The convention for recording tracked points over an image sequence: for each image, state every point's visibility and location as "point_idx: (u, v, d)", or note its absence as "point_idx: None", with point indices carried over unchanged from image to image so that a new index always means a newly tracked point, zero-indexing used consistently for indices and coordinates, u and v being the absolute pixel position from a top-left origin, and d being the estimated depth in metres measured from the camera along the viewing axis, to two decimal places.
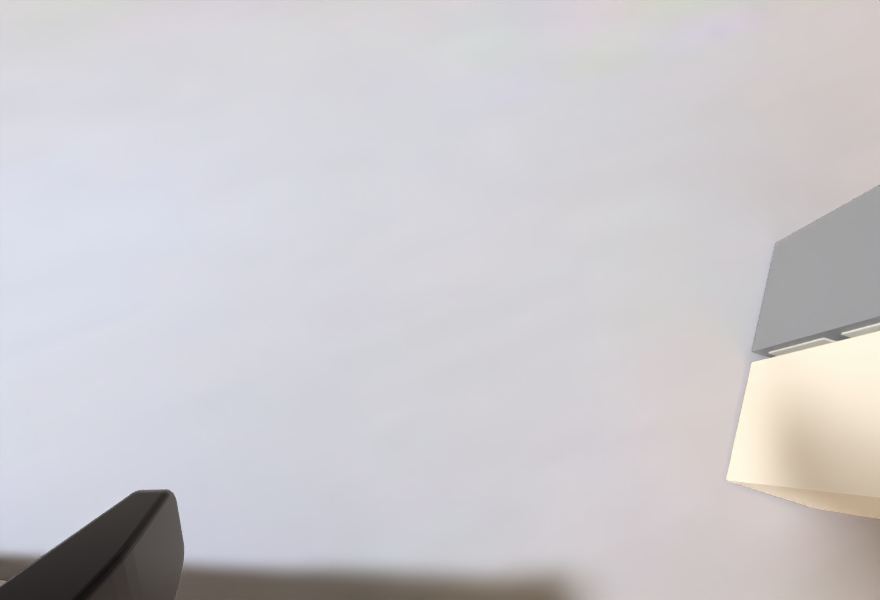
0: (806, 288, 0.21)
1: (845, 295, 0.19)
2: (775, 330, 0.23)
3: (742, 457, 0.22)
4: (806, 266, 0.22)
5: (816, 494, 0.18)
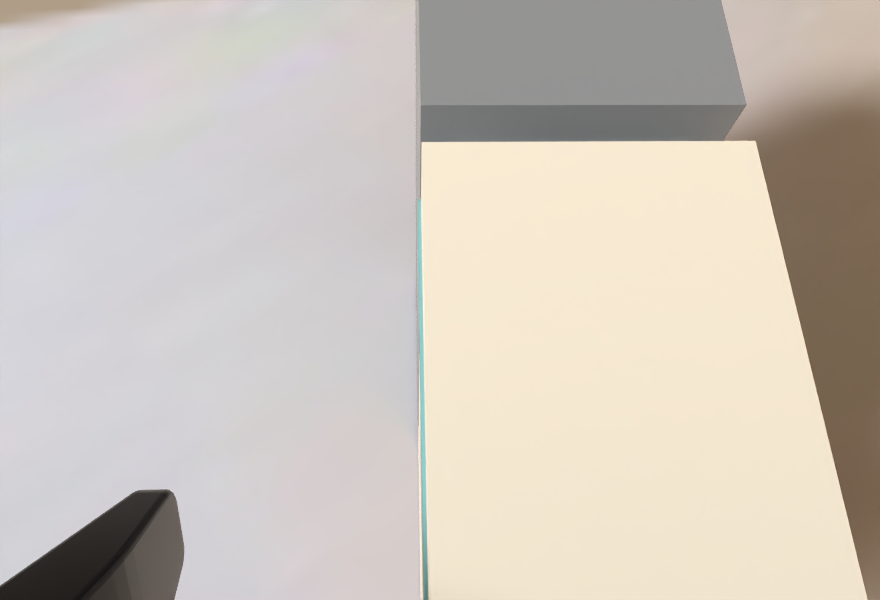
0: None
1: None
2: None
3: None
4: None
5: None
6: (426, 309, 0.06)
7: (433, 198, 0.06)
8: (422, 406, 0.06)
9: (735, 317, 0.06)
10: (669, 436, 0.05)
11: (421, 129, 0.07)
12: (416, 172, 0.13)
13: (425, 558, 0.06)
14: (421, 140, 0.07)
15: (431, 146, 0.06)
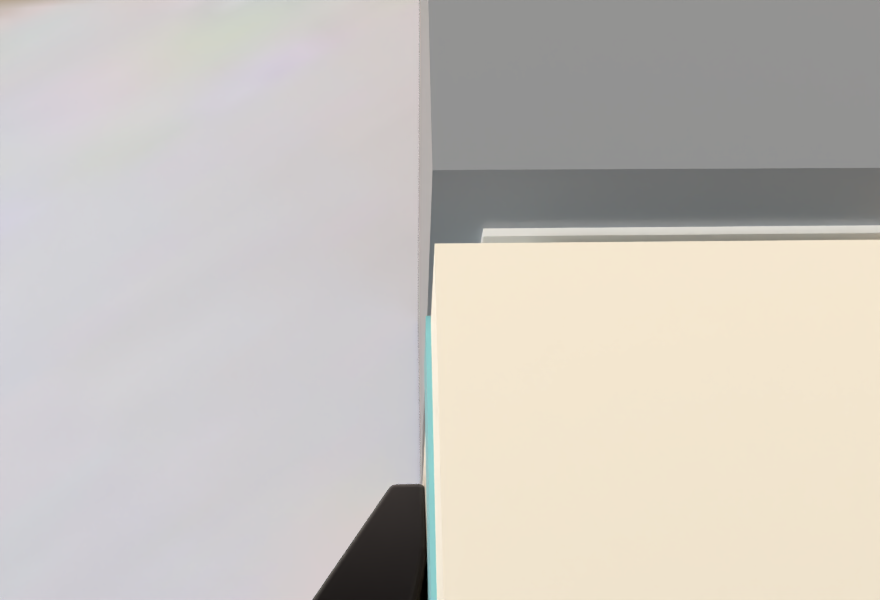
0: None
1: None
2: (420, 460, 0.14)
3: None
4: (419, 350, 0.14)
5: None
6: None
7: (459, 362, 0.03)
8: None
9: None
10: None
11: (433, 207, 0.04)
12: None
13: None
14: (432, 222, 0.04)
15: (452, 249, 0.03)
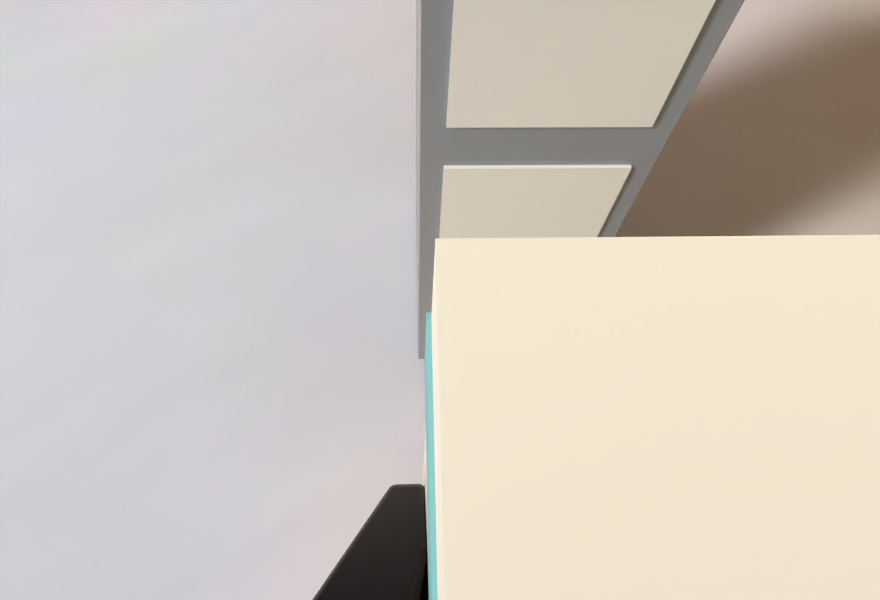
0: None
1: (418, 213, 0.12)
2: (418, 314, 0.15)
3: None
4: None
5: None
6: None
7: (460, 355, 0.03)
8: None
9: None
10: None
11: None
12: None
13: None
14: None
15: (454, 243, 0.03)
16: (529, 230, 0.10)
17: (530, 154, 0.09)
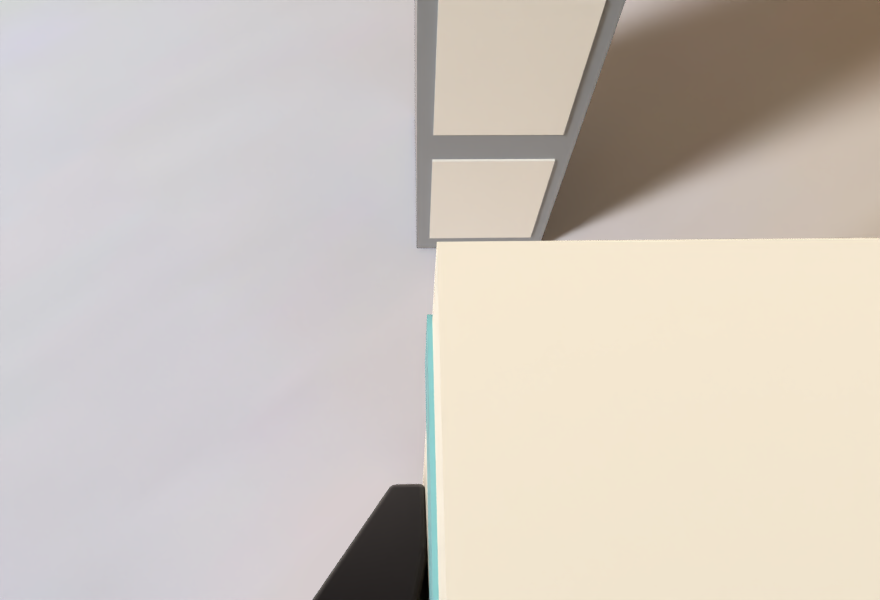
0: None
1: (416, 78, 0.13)
2: (416, 199, 0.16)
3: None
4: (415, 99, 0.16)
5: None
6: None
7: (461, 360, 0.03)
8: None
9: None
10: None
11: None
12: None
13: None
14: None
15: (454, 247, 0.03)
16: (516, 78, 0.12)
17: None
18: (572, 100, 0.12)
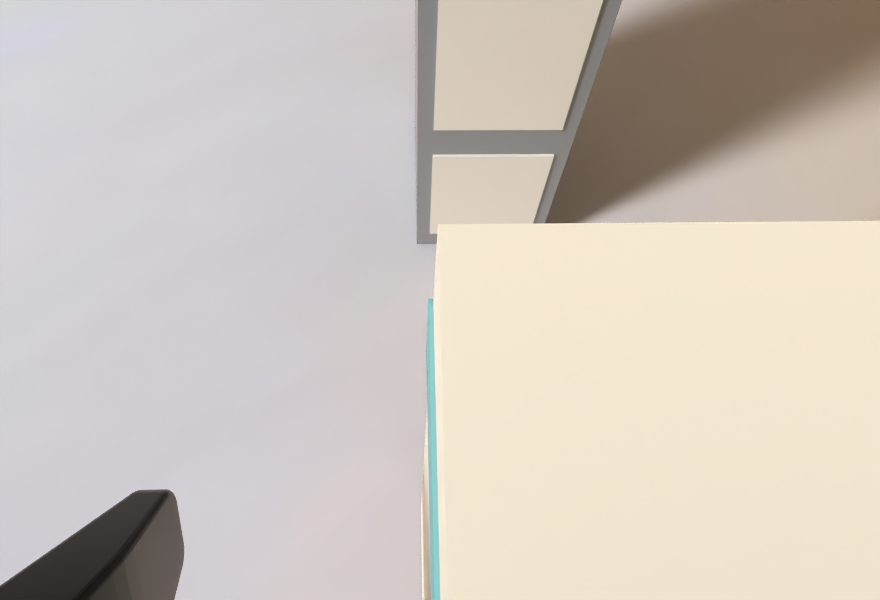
0: None
1: None
2: None
3: None
4: None
5: None
6: (451, 581, 0.03)
7: (462, 337, 0.03)
8: None
9: None
10: None
11: None
12: None
13: None
14: None
15: (456, 230, 0.03)
16: (516, 73, 0.12)
17: None
18: (571, 95, 0.12)
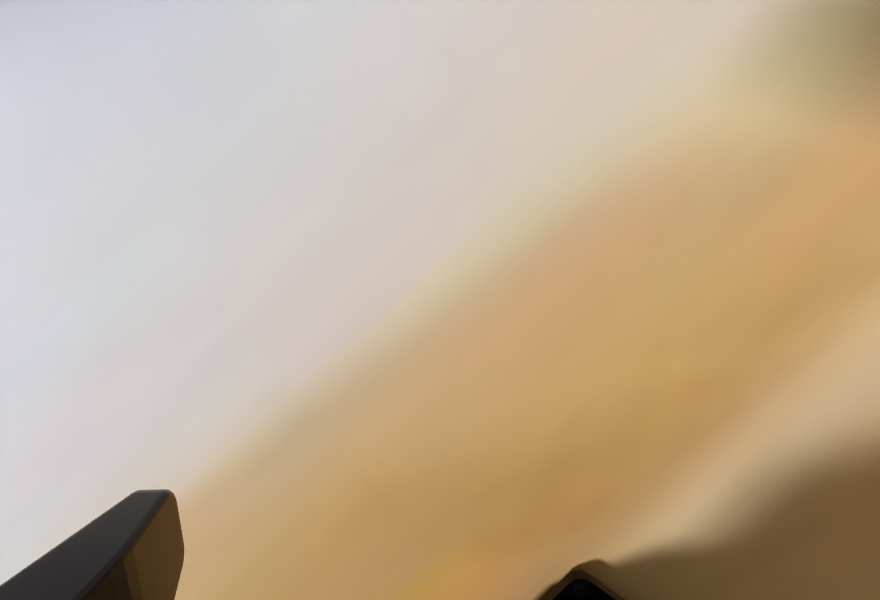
0: None
1: None
2: None
3: None
4: None
5: None
6: None
7: None
8: None
9: None
10: None
11: None
12: None
13: None
14: None
15: None
16: None
17: None
18: None
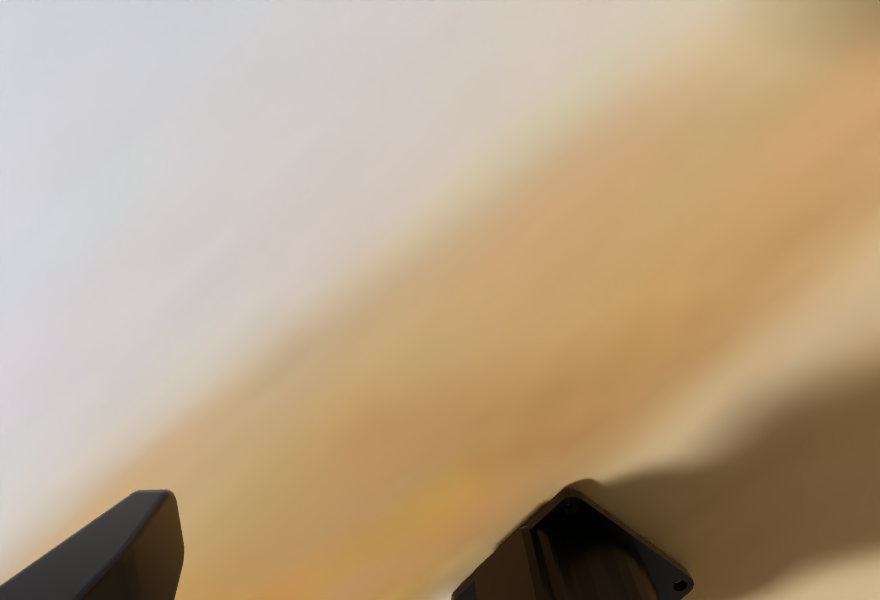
0: None
1: None
2: None
3: None
4: None
5: None
6: None
7: None
8: None
9: None
10: None
11: None
12: None
13: None
14: None
15: None
16: None
17: None
18: None
